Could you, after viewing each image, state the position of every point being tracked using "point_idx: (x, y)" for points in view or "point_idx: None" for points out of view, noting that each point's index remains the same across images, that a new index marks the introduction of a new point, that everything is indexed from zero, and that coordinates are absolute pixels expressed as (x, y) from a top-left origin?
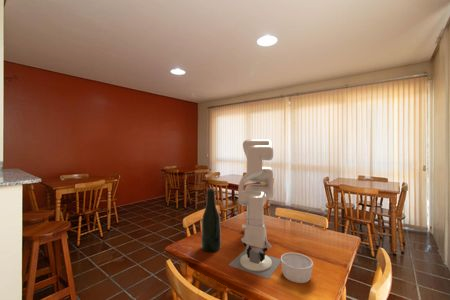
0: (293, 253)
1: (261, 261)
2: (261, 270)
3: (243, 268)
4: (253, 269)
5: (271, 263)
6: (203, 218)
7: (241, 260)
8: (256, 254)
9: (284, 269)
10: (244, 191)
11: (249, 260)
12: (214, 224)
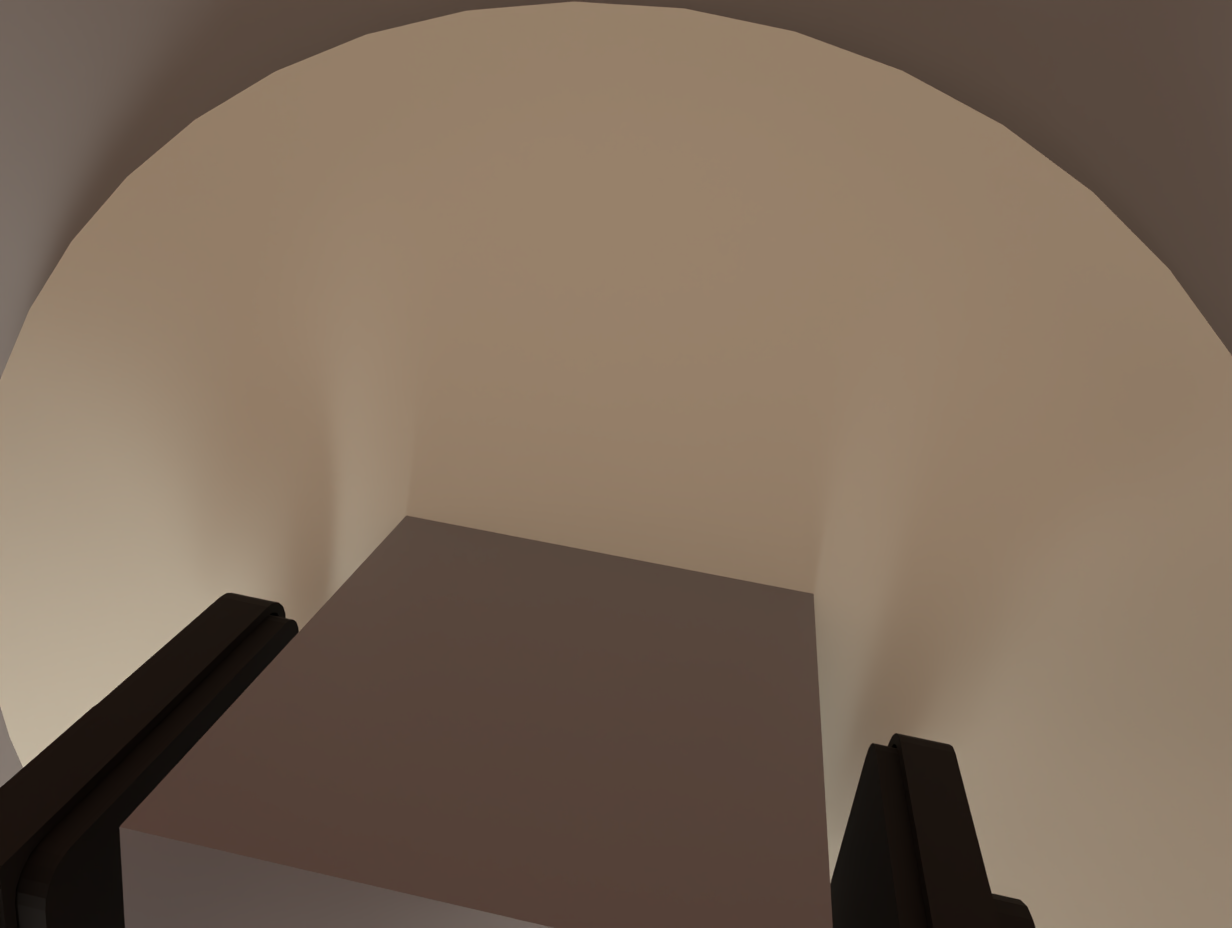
0: None
1: (224, 598)
2: (165, 161)
3: (977, 24)
4: (452, 21)
5: (4, 703)
6: None
7: (1224, 555)
8: (301, 782)
9: None
10: None
11: (836, 662)
12: None
